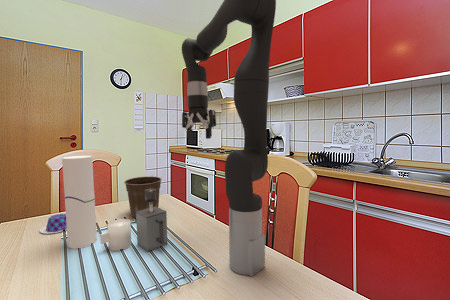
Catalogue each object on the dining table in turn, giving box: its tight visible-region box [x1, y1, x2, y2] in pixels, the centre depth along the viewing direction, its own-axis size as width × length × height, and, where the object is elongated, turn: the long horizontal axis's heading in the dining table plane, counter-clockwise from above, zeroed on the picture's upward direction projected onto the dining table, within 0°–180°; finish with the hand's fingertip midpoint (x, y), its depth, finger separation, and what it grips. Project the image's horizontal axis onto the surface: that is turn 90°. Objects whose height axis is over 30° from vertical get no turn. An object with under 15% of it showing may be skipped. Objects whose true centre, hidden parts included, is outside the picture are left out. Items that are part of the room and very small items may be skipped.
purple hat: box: [39, 213, 67, 235], centre depth 92 cm, size 12×12×5 cm
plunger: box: [145, 189, 156, 213], centre depth 78 cm, size 5×5×16 cm
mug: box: [99, 218, 132, 252], centre depth 76 cm, size 7×9×8 cm
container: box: [61, 155, 98, 250], centre depth 79 cm, size 9×9×30 cm
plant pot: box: [123, 176, 163, 219], centre depth 106 cm, size 16×16×16 cm
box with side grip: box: [135, 206, 168, 253], centre depth 77 cm, size 10×7×12 cm
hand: (199, 138), depth 87 cm, fingers open, 8 cm apart
